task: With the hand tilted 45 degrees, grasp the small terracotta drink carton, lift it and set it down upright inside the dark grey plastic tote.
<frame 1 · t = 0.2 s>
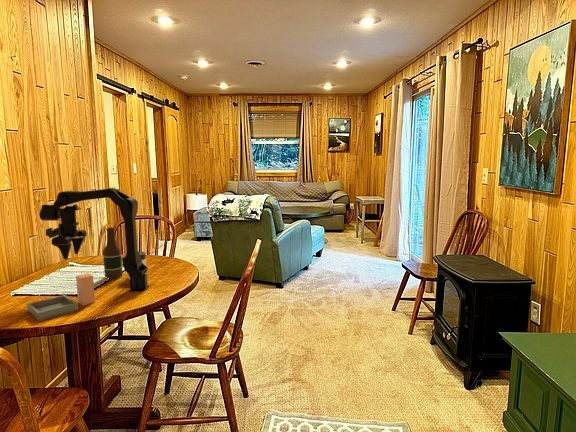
hand: (71, 256, 169), 15 cm above the table, tool pointing down, fingers open, 9 cm apart
tote: (53, 311, 148), on the table
carton: (86, 302, 157), on the table
beer bottle: (113, 277, 190), on the table
jar: (137, 278, 189), on the table
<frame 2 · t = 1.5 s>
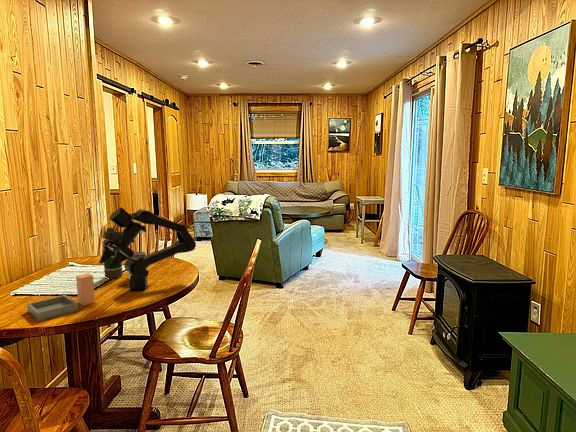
hand: (104, 265, 161), 13 cm above the table, tool tilted 45°, fingers open, 9 cm apart
nothing on the table moved.
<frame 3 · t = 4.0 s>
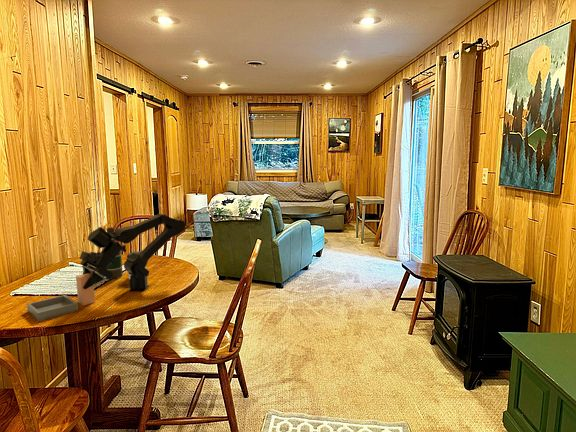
hand: (81, 287, 155), 7 cm above the table, tool tilted 45°, fingers closed on carton, 5 cm apart
carton: (86, 302, 157), on the table, touching gripper
everything else where it was.
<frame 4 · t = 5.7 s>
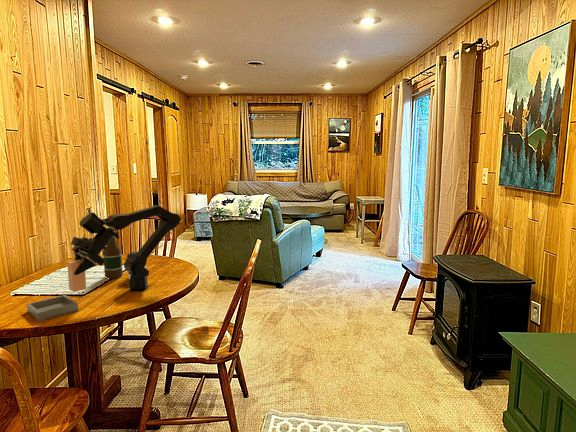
hand: (72, 273, 152), 13 cm above the table, tool tilted 45°, fingers closed on carton, 5 cm apart
carton: (77, 289, 154), point 6 cm above the table, touching gripper
everything else where it was.
when the fingers open (9 cm above the table, at t = 7.7 s): carton drops 1 cm, resting on tote.
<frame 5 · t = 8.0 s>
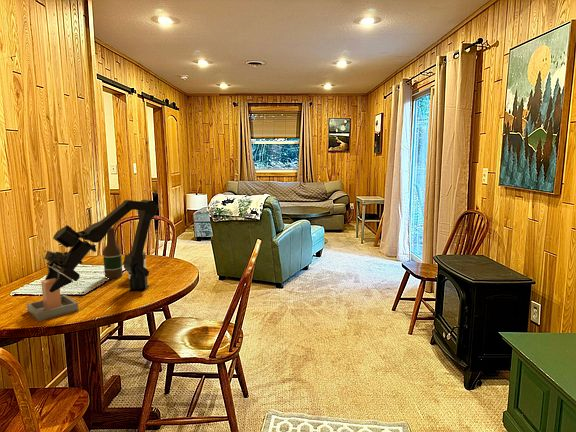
hand: (46, 289, 146), 9 cm above the table, tool tilted 45°, fingers open, 8 cm apart
carton: (52, 309, 148), point 1 cm above the table, touching tote
everything else where it was.
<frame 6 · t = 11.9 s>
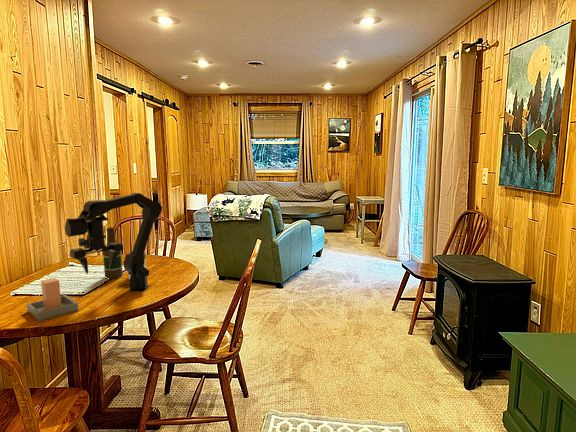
hand: (99, 270, 159), 12 cm above the table, tool pointing down, fingers open, 9 cm apart
nothing on the table moved.
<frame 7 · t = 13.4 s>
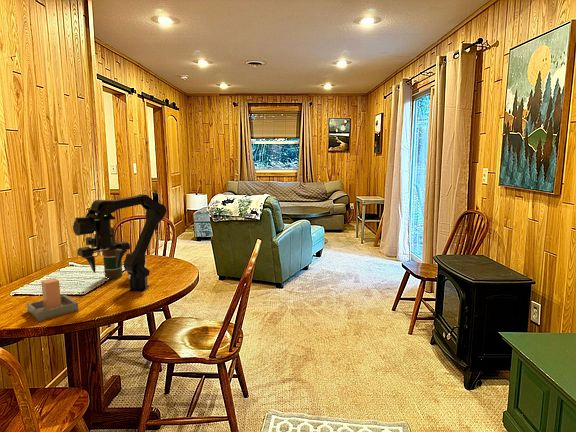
hand: (106, 269, 160), 12 cm above the table, tool pointing down, fingers open, 9 cm apart
nothing on the table moved.
at the end: carton inside the target area on the tote (0.0 cm from its centre), point 0.8 cm above the tote's base; carton tilted 0°; the gripper is holding nothing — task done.
